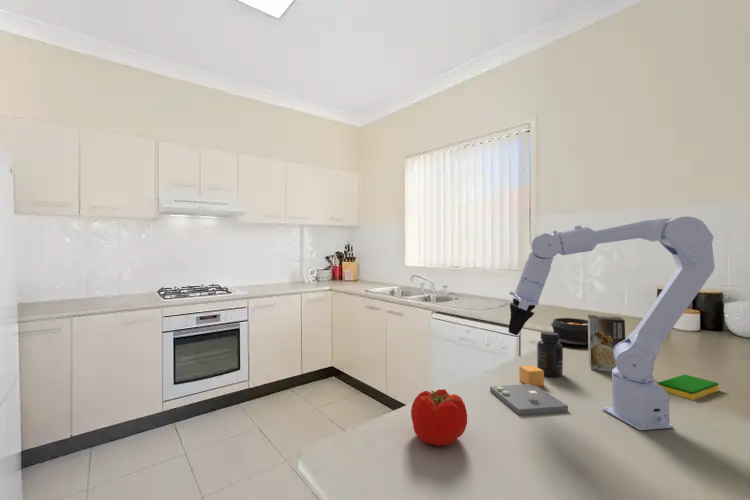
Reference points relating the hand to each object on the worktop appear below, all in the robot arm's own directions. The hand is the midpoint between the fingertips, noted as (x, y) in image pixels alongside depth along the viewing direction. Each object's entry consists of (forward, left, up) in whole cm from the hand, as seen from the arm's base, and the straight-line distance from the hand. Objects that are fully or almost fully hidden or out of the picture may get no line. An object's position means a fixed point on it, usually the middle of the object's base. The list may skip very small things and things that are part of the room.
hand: (513, 330), depth 86 cm
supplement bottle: (+11, -18, -16) cm, 27 cm away
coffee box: (+12, -38, -16) cm, 43 cm away
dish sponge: (-5, -46, -17) cm, 49 cm away
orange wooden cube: (+5, -8, -16) cm, 19 cm away
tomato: (-18, +27, -16) cm, 36 cm away
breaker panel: (-5, 0, -16) cm, 17 cm away
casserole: (+43, -53, -16) cm, 70 cm away
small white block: (-7, 0, -15) cm, 16 cm away
